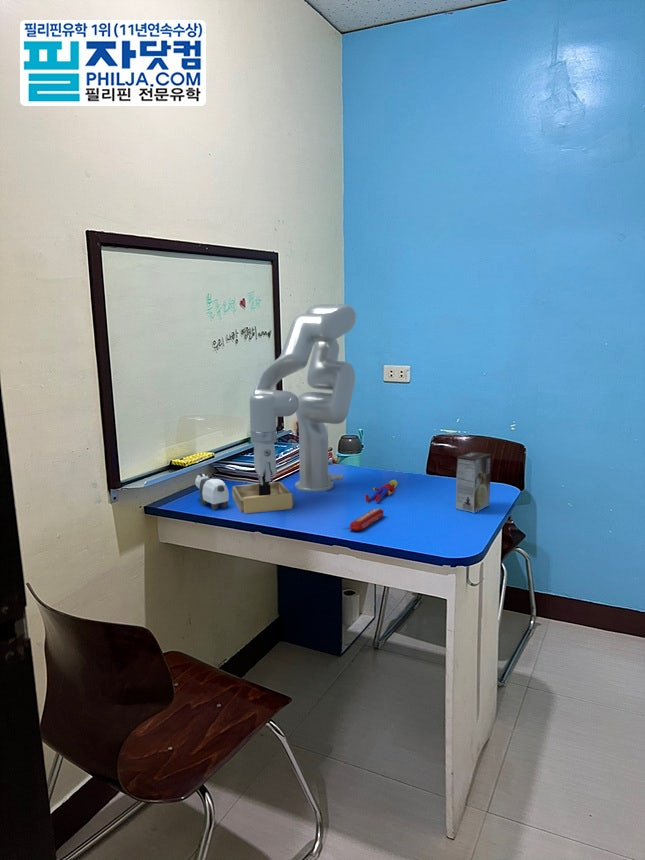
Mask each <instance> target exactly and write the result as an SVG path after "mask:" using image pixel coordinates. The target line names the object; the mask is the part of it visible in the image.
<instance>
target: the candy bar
mask: <svg viewBox="0 0 645 860" xmlns="http://www.w3.org/2000/svg"><path fill="white" fill-rule="evenodd" d="M384 512H385V510H384V509H382V508H374V509H371V510H369V511H367V512H366V513H364V514H362V515H361V516H359V517H357V518H356V519H354V520H352V521H351V522H350V524H349V530H350V531H353V532H355V531H362V530H364V529H366V528H368V527H369V526H370V525H372V524H373V523H375V522H377V521H378V520H379V519H381V518H382V517H383V516H384Z"/></svg>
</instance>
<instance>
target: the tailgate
mask: <svg viewBox="0 0 645 860" xmlns="http://www.w3.org/2000/svg"><path fill="white" fill-rule="evenodd" d="M292 495H293V493H292V492H290V493H284V494H273V495H263V496H253V497H244V512H243V513H244V514H254V513H262V512H263V513H265V512H274V511H283V510H284V511H285V510H291V509H293V507H292Z"/></svg>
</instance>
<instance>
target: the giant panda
mask: <svg viewBox="0 0 645 860" xmlns="http://www.w3.org/2000/svg"><path fill="white" fill-rule="evenodd" d="M194 481H195V482H194V483H195V486H196V487H197V488H198V489H199V492H198V493H199V499H200V505H201V506H207V505H208V503H209V504H210V505H211V506H210V507H211V508H210V509H211V510H212V511H216V510H218V509H219V507H220V508H223V509H224V508H225V509H226V508H228V503H229V497H230V496H229V495H230V494H229V489H228V486H227V485H226V483H225V482H224V481H223V480H221V479H219V478H213V477H209V476H208V472H204V473H201V472H199V474H197V476H196V478H195V480H194ZM219 504H220V506H219Z"/></svg>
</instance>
